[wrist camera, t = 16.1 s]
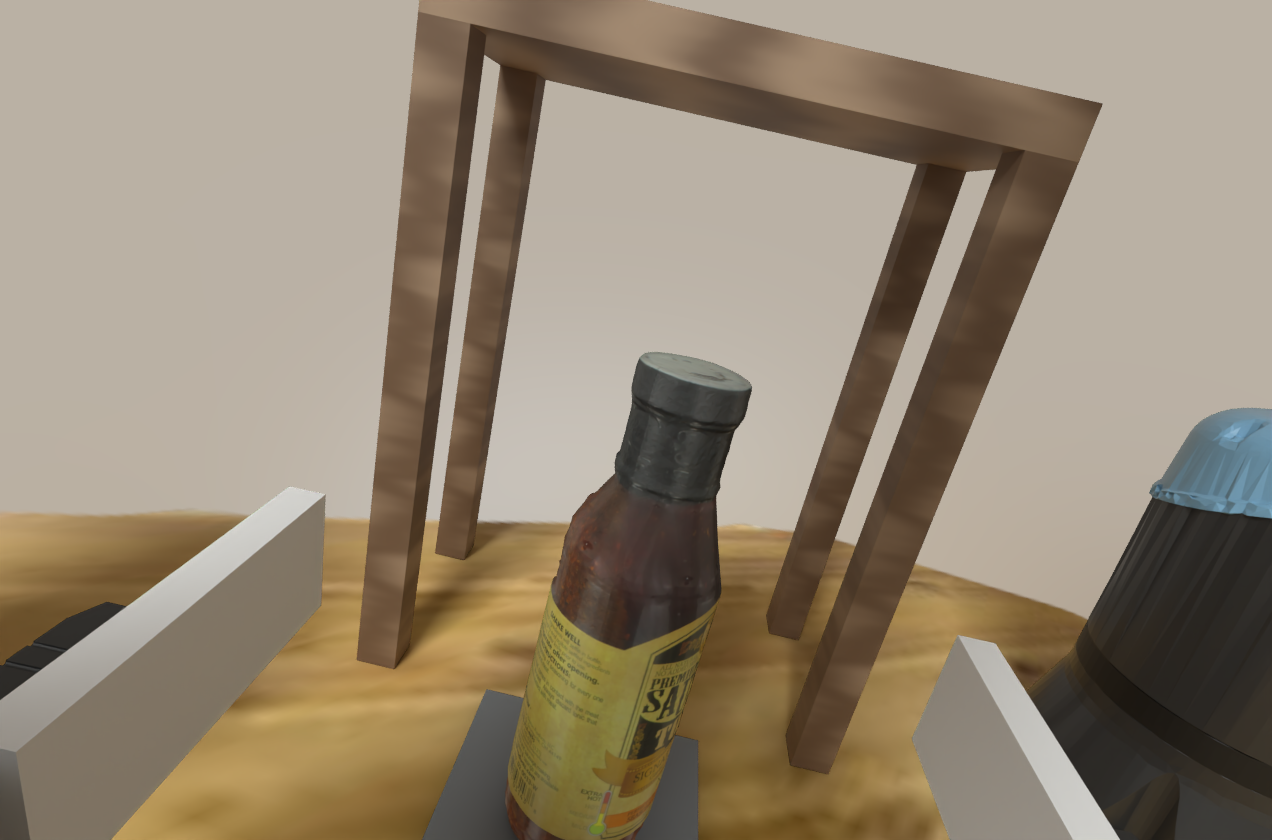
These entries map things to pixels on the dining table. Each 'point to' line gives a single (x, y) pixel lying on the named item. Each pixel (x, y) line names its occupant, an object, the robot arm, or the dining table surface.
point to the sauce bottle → (627, 613)
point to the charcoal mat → (475, 791)
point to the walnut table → (955, 364)
